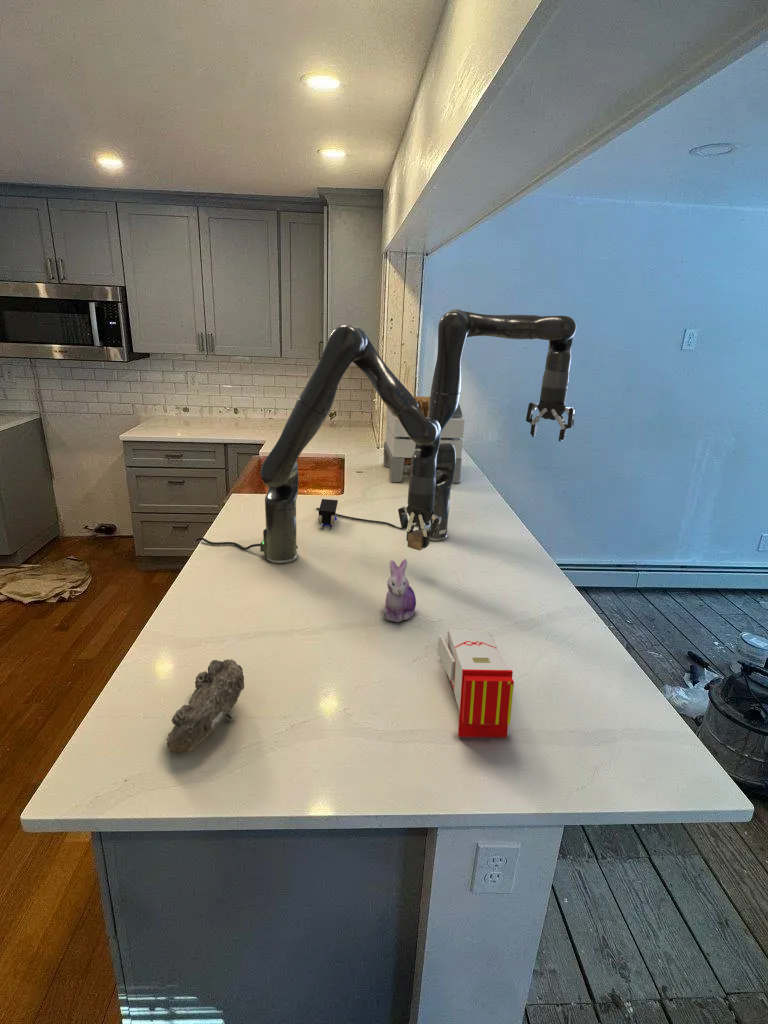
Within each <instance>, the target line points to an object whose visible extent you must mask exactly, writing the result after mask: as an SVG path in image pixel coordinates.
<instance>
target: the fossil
mask: <svg viewBox="0 0 768 1024" xmlns="http://www.w3.org/2000/svg"><path fill="white" fill-rule="evenodd" d="M243 670H244V669H243V667H242V665H240V664H237V662H236V661H235V660H234V659H232V658H231V659H227V658H226V659H224V660H223V661H222V660H217V659H212V660H211V661H210V663H209V665H208V666H207V671H201V672H199V673H198V674H197V675H196V676H195V680H194V684H195V685H194V687H195V689H194V690H193V693H192V694H191V697H190V698H189V700H188V704H184V705H182V706H181V707H180V709H177V710H176V711H175V713H174V715H173V716H172V718H171V723H172V724H173V727H172V730H171V731H170V732H168V734H167V738H166V741H167V742H166V745H167V749H168V750H169V751H173V752H174V753H176V754H178V753H182V752H188V751H189V752H192V751H193V750H195V748H196V747H197V746H199V744H200V743H201V742H203V741H204V740H205V739H206V738H207V737H208V736H209V735H210V734H211V733H212V732H214V730H215V729H217V727H218V726H219V724H220V722H221V721H222V720H223V719H224V718H225V716H226V717H227V719H229V720H233V717H232V715H230V714H229V710H230V709H231V708H234V706H235V704H236V703H237V702H238V699H239V697H240V695H241V693H242V691H243V690H245V689H244V688H245V675H244V671H243Z"/></svg>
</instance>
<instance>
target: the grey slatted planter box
mask: <svg viewBox="0 0 768 1024" xmlns="http://www.w3.org/2000/svg"><path fill="white" fill-rule="evenodd" d="M412 396H413V395H412ZM413 397H414V398H415V399H416V401H417V402H418V404H419V409H420V410H421V412H422V413H423V414H424V416H425V417H428V414H429V405H430V396H415V395H414V396H413ZM385 414H386V415H385V423H386V428H385V438H384V442H383V466H384V467H388V468H389V475H388V476H389V477H388V478H389V480H390V482H391V483H402V482H403V475H404V469H405V466H406V467H407V466H410V467H411V460H412V456H413V454H414V452H415V444H416V443H415V442H414V441H413V440H412V439H411V438H410V437H409V435H408V434H407V432H406V431H405V429H404V428H403V426H402V424H401V422H400V421H399V419H398V418H397V417H396V416H395V415H394V414H393V413H392V411H391V410H390V409H389V408H388V407H387V406H386V413H385ZM464 429H465V419H464V418H463V411H462V408H461V405H460V402H459V403H458V407H457V410H456V411H455V413H454V414H453V416H452V417H451V419H450V420H449V421H448V423H447V424H446V425H445V427H444V428H443V430H442V432H441V437H440V443H451V444H452V445H453V446H454V448H455V451H456V463H455V470H454V477H453V483H452V484H455V483H456V484H459V483H461V472H462V461H463V460H462V453H463V442H464V441H463V440H462V439H463V438H464V431H465V430H464Z"/></svg>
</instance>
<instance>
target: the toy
mask: <svg viewBox="0 0 768 1024" xmlns="http://www.w3.org/2000/svg"><path fill="white" fill-rule="evenodd" d="M446 640H447V643H446V641H445V639H444V636H443V635H442V634H439V637H438V646H437V656H438V657H439V659H440V661H441V663H442V666H443V668H444V670H445V672H446V674H447V677H448V679H449V681H450V684H451V687H452V690H453V693H454V697H455V701H456V705H457V708H458V711H459V714H458V715H459V716H458V730H457V731H458V732H457V737H458V738H508V731H509V726H510V725H511V717H512V707H513V697H514V696H513V695H514V684H515V680H514V679H513V673H514V671H513V670H512V669H508V667H507V665H506V662H505V661H504V659H503V658H502V655H501V653H500V651H499V649H498V647H497V643H496V639H495V637H494V635H493V634H491V632H490V631H489V629H467V628H466V629H465V628H463V629H461V628H460V629H459V628H448V630H447V639H446Z"/></svg>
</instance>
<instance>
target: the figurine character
mask: <svg viewBox="0 0 768 1024" xmlns="http://www.w3.org/2000/svg"><path fill="white" fill-rule="evenodd" d="M338 503H339V500H338V499H326V498H321V501H320V505H319V507H318V508H319V510H318V516H317V517H318V518H317V526H321V529H322V530H324V528H325V527H329V530H332V528H333V526H335V525H336V521H338V518H337V515H336V514H337V508H338Z"/></svg>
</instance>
